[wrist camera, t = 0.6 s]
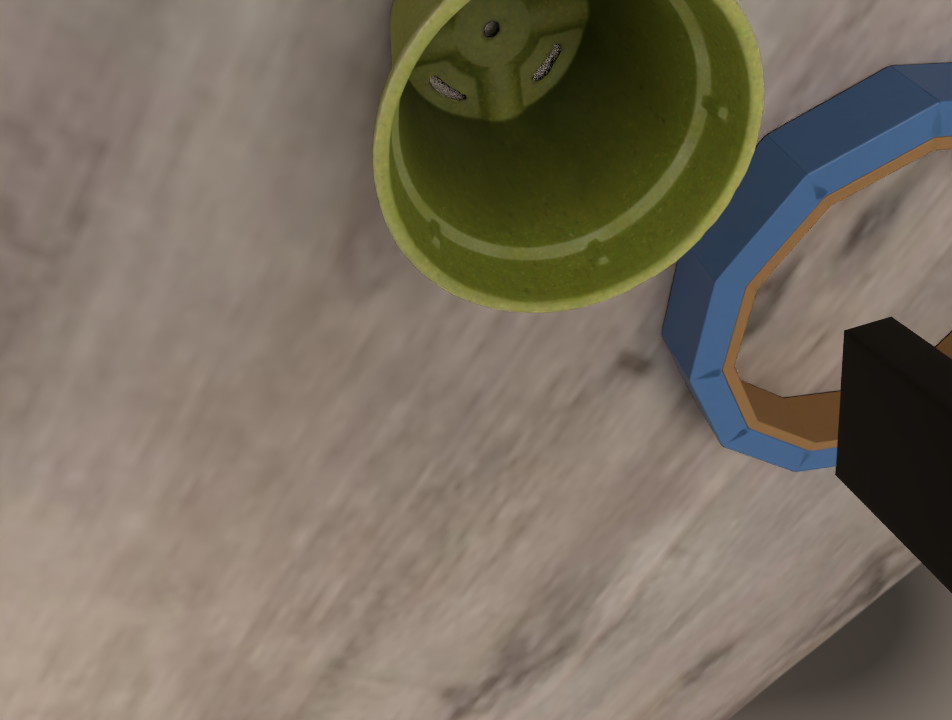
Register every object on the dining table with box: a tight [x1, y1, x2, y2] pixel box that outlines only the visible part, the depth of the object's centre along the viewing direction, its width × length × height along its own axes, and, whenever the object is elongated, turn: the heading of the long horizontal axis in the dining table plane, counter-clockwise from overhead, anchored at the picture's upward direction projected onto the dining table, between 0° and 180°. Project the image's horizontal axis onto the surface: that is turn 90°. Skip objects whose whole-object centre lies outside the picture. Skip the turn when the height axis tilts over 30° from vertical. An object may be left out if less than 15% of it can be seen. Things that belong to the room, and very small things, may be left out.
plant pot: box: [372, 0, 764, 313], centre depth 24 cm, size 9×9×9 cm
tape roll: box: [662, 63, 952, 472], centre depth 37 cm, size 18×18×3 cm
